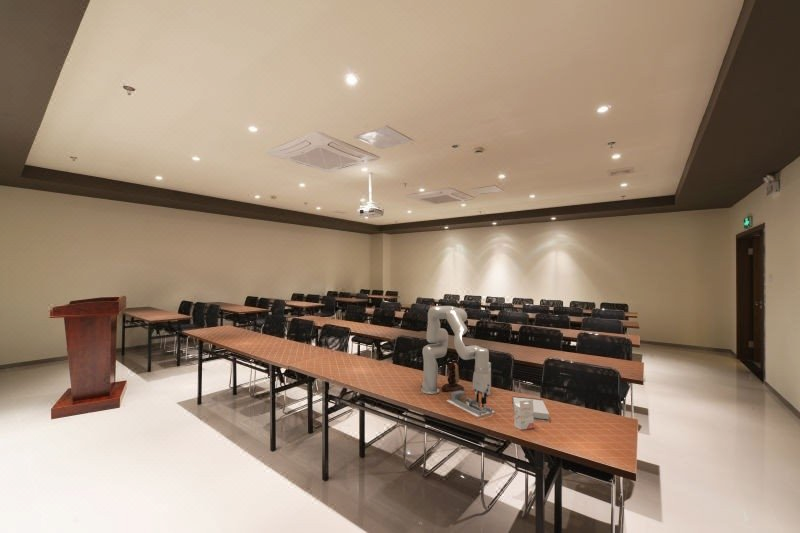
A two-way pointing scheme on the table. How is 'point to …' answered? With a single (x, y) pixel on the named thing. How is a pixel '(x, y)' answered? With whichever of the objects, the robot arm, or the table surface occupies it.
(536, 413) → the disc drive
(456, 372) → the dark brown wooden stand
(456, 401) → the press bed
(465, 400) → the nut
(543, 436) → the table surface
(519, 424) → the ink cartridge box
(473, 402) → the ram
